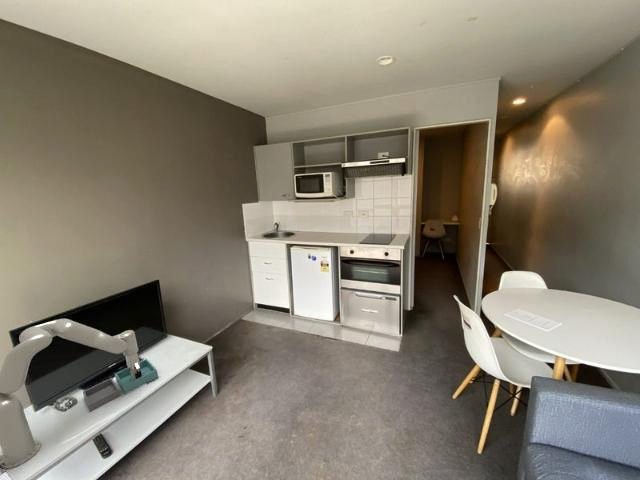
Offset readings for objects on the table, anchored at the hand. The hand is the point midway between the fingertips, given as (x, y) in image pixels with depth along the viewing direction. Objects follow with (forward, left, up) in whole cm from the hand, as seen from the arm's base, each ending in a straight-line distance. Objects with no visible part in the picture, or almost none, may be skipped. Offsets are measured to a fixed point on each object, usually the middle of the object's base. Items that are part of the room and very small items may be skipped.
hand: (136, 374), depth 171 cm
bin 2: (0, 0, -4) cm, 4 cm away
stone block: (0, 0, -3) cm, 3 cm away
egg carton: (-32, +10, -5) cm, 34 cm away
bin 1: (-18, 0, -4) cm, 19 cm away
